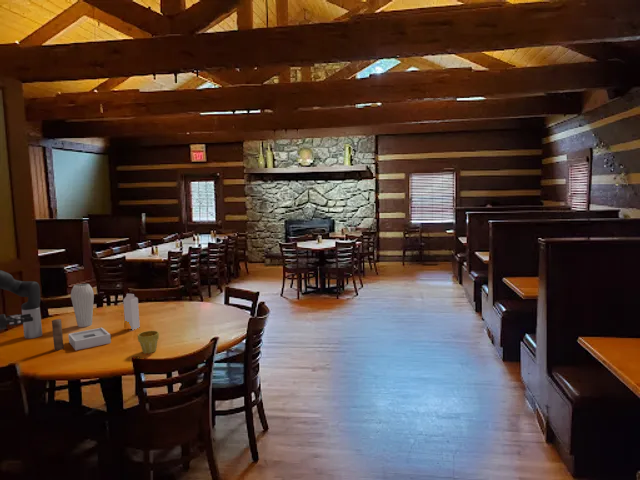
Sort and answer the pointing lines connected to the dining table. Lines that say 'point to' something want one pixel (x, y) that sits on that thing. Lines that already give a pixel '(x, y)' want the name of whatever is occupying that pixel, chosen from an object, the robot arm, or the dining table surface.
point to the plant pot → (148, 341)
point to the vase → (83, 304)
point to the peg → (57, 334)
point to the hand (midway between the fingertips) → (31, 317)
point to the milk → (131, 311)
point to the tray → (89, 338)
